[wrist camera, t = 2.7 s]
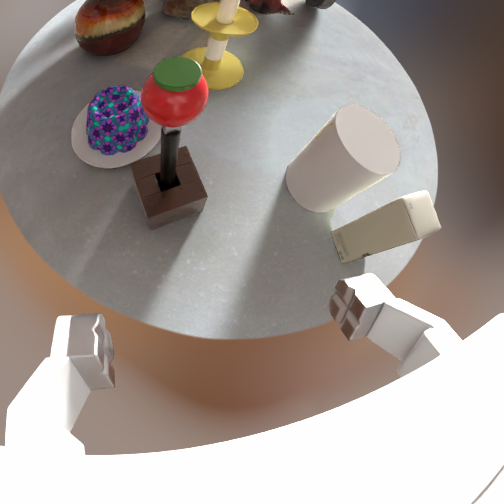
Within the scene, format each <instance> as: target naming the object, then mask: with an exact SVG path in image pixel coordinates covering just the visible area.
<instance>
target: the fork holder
mask: <svg viewBox="0 0 504 504" xmlns="http://www.w3.org/2000/svg"><path fill="white" fill-rule="evenodd" d="M130 168H131V173H132V178H133V182H134V186H135V189H136V192H137V195H138V198H139V201H140V204H141V207H142V210H143V212H144V215H145V218H146V221H147V224H148V226H149V229H150V231H152V230H154V229H157V228H160V227H162V226H165V225H167V224H170V223H173V222H175V221H178V220H181V219H184V218H186V217H189V216H192V215H195V214H197V213H200V212H202V210H203V208H204V205H205V203H206V200H207V198H208V196H207V193H206V191H205V189H204V186H203V184H202V182H201V179H200V177H199V174H198V172H197V170H196V167H195V165H194V163H193V160H192V158H191V155H190V153H189V151H188V148H187V146H184V147H181V148H179V149H178V157H177V165H176V174H175V184H174V188H171V189H168V190H166V191H163V192H161V190H160V154H158V155H155V156H151V157H148V158H145V159H142V160H139V161H137V162H134V163H131V164H130Z"/></svg>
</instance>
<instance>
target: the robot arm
mask: <svg viewBox="0 0 504 504" xmlns="http://www.w3.org/2000/svg"><path fill="white" fill-rule="evenodd" d="M335 290H336V292H335V294H334V295H333V296H332V297H331V300H330V303H329V307H330V312H331V315H332V317H333V318H334V320H335V321H337V322H339V323H341V330H342V332H343V333H344V334H345V336H346V337H347V339H348V340H349V341H352V340H356V339H359V338H362V337H365V336H367V338H368V339H370V340H371V341H373V342H374V343H376V344H377V345H379V346H380V347H382V348H384V349H385V350H386V351H388V352H389V353H391V354H392V355H394V356H395V357H397V358H398V359H400V360H401V361H403V362H402V363H401V365H400V366H399V367H398V368H397V373H398V374H399V376H400V377H401V378H400V379H398V380H396V381H394V382H393V383H391V384H389V385H387V386H385V387H383V388H380V389H378V390H377V391H374V392H372V393H370V394H368V395H366V396H364V397H361V398H359V399H357V400H354V401H352V402H350V403H347V404H345V405H342V406H340V407H338V408H335V409H332V410H330V411H327V412H325V413H322V414H319V415H317V416H314V417H311V418H308V419H305V420H303V421H299V422H296V423H293V424H290V425H287V426H284V427H281V428H277V429H274V430H270V431H267V432H263V433H260V434H256V435H252V436H248V437H243V438H239V439H235V440H230V441H226V442H221V443H216V444H211V445H206V446H200V447H194V448H187V449H181V450H173V451H165V452H156V453H144V454H128V455H85V448H84V445H83V444H82V443H81V442H80V441H79V440H78V439H76V438H75V437H74V436H73V435H72V434H70V432H71V430H72V428H73V426H74V423H75V422H76V420H77V418H78V416H79V413H80V412H81V410H82V408H83V406H84V404H85V402H86V400H87V398H88V396H89V394H90V392H91V390H92V389H105V388H115V382H114V381H115V380H114V369H113V367H112V365H111V362H112V361H113V359H114V350H113V343H112V339H111V335H110V333H109V331H108V330H107V329H105V320H104V317H103V315H102V314H101V313H99V314H83V315H72V316H59V317H58V318H57V320H56V324H55V330H54V335H53V341H52V347H51V353H50V358H46V359H45V360H44V361H43V362H42V363H41V365H40V366H39V367H38V368H37V370H36V371H35V372H34V373H33V375H32V376H31V377H30V379H29V380H28V381H27V382H26V384H25V385H24V387H23V388H22V389H21V390H20V392H19V393H18V394H17V396H16V397H15V399H14V400H13V401H12V403H11V404H10V406H9V407H8V410H7V422H6V435H5V447H3V446H0V504H504V314H499V315H497V316H496V317H495V318H493V319H492V320H491V321H489V322H488V323H487V324H486V325H484V326H483V327H482V328H480V329H479V330H477V331H476V332H475V333H473V334H472V335H471V336H469V337H468V338H466V339H465V340H463V341H462V340H461V339H460V337H459V336H458V335H457V334H456V333H455V332H454V330H453V329H452V328H451V327H450V326H449V325H448V324H447V322H446V321H445V320H443V319H441V318H439V317H437V316H435V315H433V314H431V313H429V312H426V311H425V310H422V309H420V308H418V307H416V306H414V305H412V304H410V303H408V302H406V301H404V300H402V299H396V298H395V297H394V296H393V294H392V293H391V292H390V291H389V290H388V289H387V288H386V287H385V286H384V285H383V284H382V282H381V281H380V280H379V279H378V278H377V277H376V276H375V275H374V274H372V273H369V274H364V275H360V276H354V277H349V278H345V279H340V280H339V281H338V282H337V283H336V285H335Z"/></svg>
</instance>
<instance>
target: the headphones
mask: <svg viewBox="0 0 504 504" xmlns="http://www.w3.org/2000/svg"><path fill="white" fill-rule="evenodd" d="M334 2H335V0H306V4H307V5H308V6H311V7H317V8H319V9H327V8H329V7H330V6H331V5H332V4H333V3H334Z"/></svg>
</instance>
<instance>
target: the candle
mask: <svg viewBox="0 0 504 504" xmlns="http://www.w3.org/2000/svg"><path fill="white" fill-rule="evenodd" d="M239 3H240V0H222V1H221V3H219V2H213V3H206V4H202V5H200V6H198V7H195V9H194V10H193V11H192V12H191V18H192V21H193V22H194V23H195V24H196V25H197V26H198V27H199V28H201V29H203V30H205V31H207V32H209V33H210V37H209V40H208V44H207V47H199V48H195V49H191V50H189V51H187V52H186V53H184V54H183V55H181V57H186V58H189V59H192V60H194V61H195V62H197V63H198V64H199V66H200V67H201V70H202V75H203V76H204V78H205V80H206V82H207V85H208V90H223V89H227V88H230V87H233V86H235V85H236V84H237V83H238V82H239V81H241V79H242V76H243V73H244V70H243V67H242V63H241V62H240V61H239V60H238V59H237V58H236V56H235V55H233V54H231V53H229V52H227V51H225V47H226V44H227V41H228V38H229V36H236V37H237V36H243V35H248V34H250V33H252V32H254V31H255V30H256V29H257V26H258V24H259V23H258V20H257V18H256V16H254V15H253V14H252V13H251V12H250V11H248V10H246V9H244V8H242V7H240V6H238V5H239Z"/></svg>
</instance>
